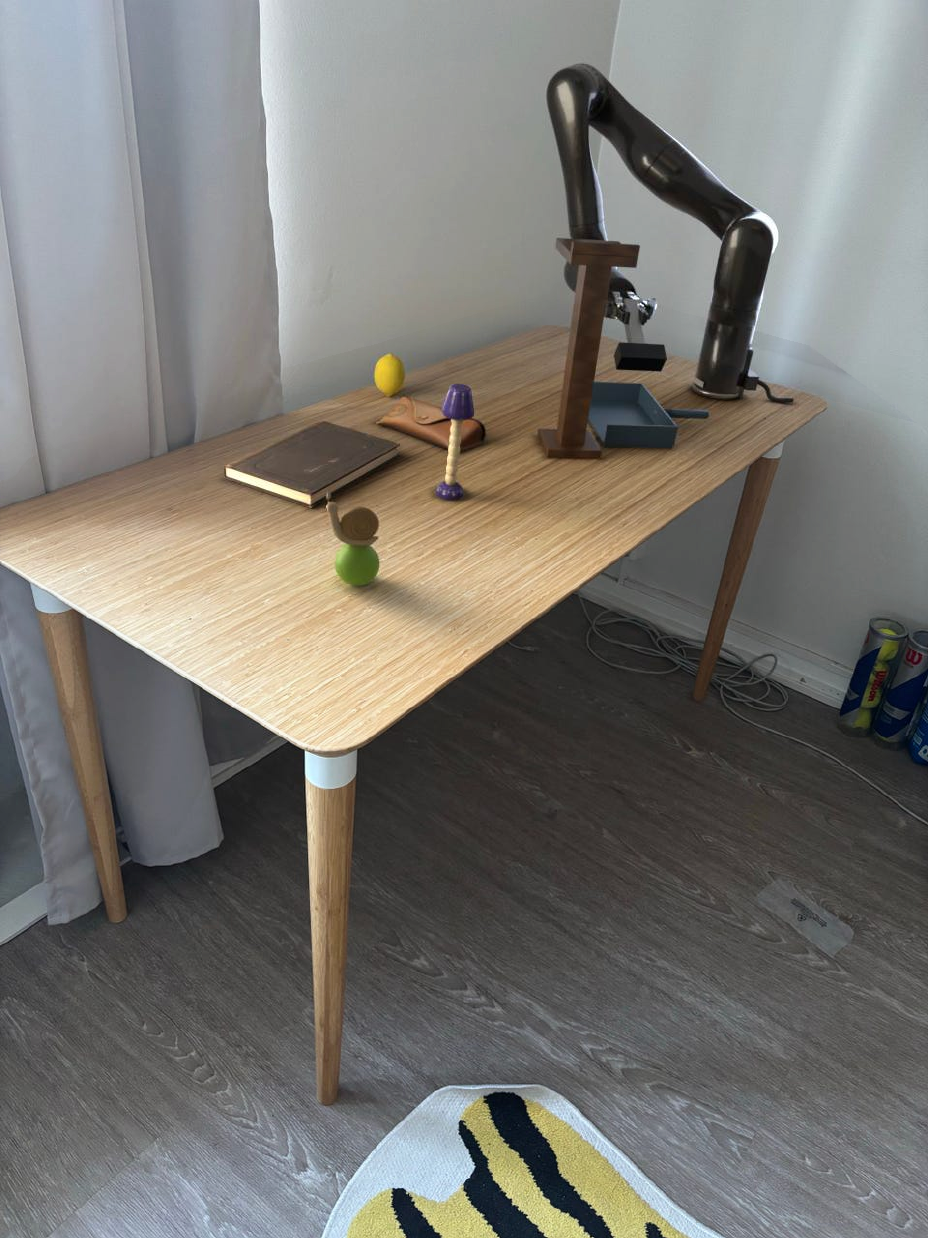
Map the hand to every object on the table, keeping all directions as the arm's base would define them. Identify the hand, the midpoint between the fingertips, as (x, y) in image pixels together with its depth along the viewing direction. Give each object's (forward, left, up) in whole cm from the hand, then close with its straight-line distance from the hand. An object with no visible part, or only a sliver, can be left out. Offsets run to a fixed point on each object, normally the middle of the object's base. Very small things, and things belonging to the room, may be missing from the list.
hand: (635, 318), depth 159 cm
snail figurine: (+49, +58, -18) cm, 78 cm away
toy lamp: (+34, +33, -18) cm, 51 cm away
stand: (+12, +13, -18) cm, 26 cm away
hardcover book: (+54, +24, -18) cm, 62 cm away
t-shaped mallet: (0, 0, -3) cm, 3 cm away
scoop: (-5, +2, -18) cm, 19 cm away
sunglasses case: (+35, +9, -18) cm, 41 cm away
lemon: (+41, -8, -18) cm, 46 cm away
